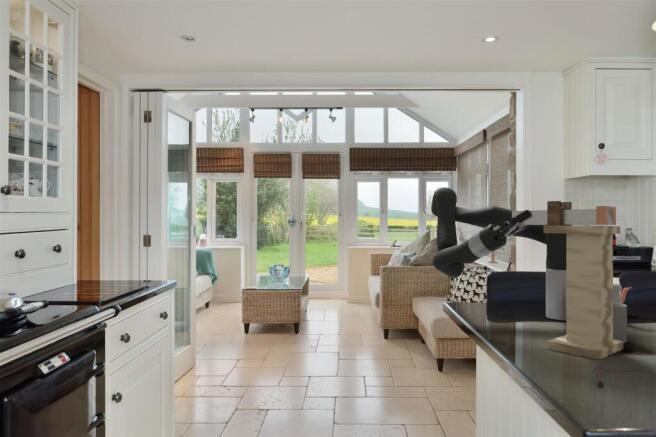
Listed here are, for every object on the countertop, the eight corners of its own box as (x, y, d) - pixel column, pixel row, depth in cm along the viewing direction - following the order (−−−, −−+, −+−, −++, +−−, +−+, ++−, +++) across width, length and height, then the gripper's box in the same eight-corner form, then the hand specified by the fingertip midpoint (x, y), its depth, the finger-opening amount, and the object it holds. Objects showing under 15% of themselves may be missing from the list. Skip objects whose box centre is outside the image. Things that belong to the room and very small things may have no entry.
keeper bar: (521, 224, 131) (521, 209, 131) (616, 225, 111) (616, 207, 111) (509, 224, 127) (509, 208, 127) (605, 224, 107) (605, 205, 107)
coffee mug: (632, 344, 118) (632, 307, 118) (591, 341, 121) (591, 305, 121) (615, 333, 131) (615, 300, 131) (578, 330, 134) (578, 298, 134)
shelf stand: (566, 338, 124) (566, 203, 125) (623, 349, 113) (622, 201, 114) (539, 346, 114) (540, 200, 115) (598, 359, 103) (598, 198, 104)
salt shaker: (628, 324, 143) (627, 285, 143) (608, 323, 144) (608, 284, 145) (619, 321, 149) (619, 283, 149) (601, 320, 150) (601, 282, 150)
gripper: (468, 230, 133) (514, 200, 122) (493, 230, 142) (539, 202, 131) (479, 252, 130) (527, 223, 119) (504, 251, 139) (552, 224, 127)
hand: (533, 213), depth 125 cm, fingers closed on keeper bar, 4 cm apart
